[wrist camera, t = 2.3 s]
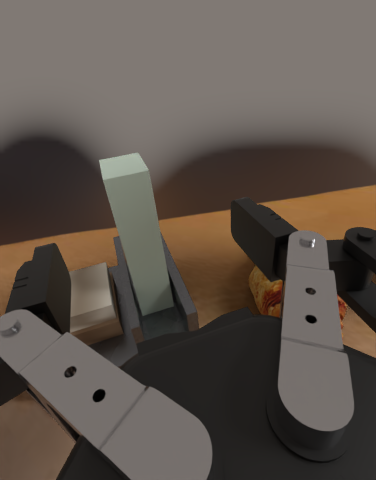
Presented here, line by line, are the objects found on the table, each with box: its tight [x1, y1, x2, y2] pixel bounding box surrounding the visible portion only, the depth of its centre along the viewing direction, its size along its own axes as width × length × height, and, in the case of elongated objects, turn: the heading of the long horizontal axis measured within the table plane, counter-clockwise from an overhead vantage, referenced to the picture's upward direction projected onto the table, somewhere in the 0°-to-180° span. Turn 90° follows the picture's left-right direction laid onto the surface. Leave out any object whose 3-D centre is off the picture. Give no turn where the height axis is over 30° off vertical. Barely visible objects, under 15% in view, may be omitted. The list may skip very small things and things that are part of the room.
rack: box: [87, 232, 199, 368], centre depth 31 cm, size 15×15×6 cm
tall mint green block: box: [99, 153, 174, 316], centre depth 28 cm, size 4×5×16 cm
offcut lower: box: [70, 272, 124, 345], centre depth 31 cm, size 5×8×2 cm, turn 18°
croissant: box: [248, 265, 347, 340], centre depth 31 cm, size 21×10×8 cm, turn 175°
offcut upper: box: [69, 262, 116, 333], centre depth 30 cm, size 5×7×2 cm, turn 18°
